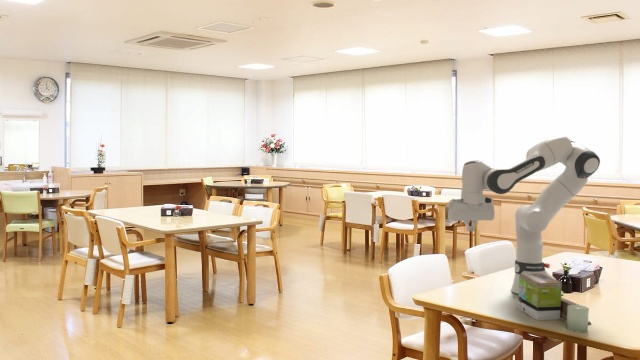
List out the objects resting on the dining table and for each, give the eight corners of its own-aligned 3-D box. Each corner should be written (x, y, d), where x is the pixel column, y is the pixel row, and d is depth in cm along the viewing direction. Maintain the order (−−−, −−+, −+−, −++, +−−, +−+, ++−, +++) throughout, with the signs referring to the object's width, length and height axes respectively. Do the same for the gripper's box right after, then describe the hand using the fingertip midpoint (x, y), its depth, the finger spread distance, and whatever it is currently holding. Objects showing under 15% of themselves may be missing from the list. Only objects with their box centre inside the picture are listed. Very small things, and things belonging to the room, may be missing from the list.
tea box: (516, 309, 235) (518, 273, 234) (540, 308, 237) (541, 272, 236) (536, 320, 220) (538, 282, 219) (561, 320, 222) (563, 281, 221)
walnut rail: (551, 306, 240) (552, 289, 240) (591, 324, 217) (592, 305, 216) (536, 306, 239) (537, 290, 238) (574, 325, 215) (575, 306, 215)
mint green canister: (579, 325, 215) (580, 304, 215) (591, 331, 208) (593, 309, 208) (562, 326, 214) (563, 305, 213) (574, 332, 207) (575, 310, 206)
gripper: (452, 199, 242) (451, 232, 243) (497, 199, 247) (495, 231, 247) (445, 198, 248) (444, 230, 249) (489, 197, 253) (488, 229, 254)
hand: (470, 231), depth 248 cm, fingers closed
